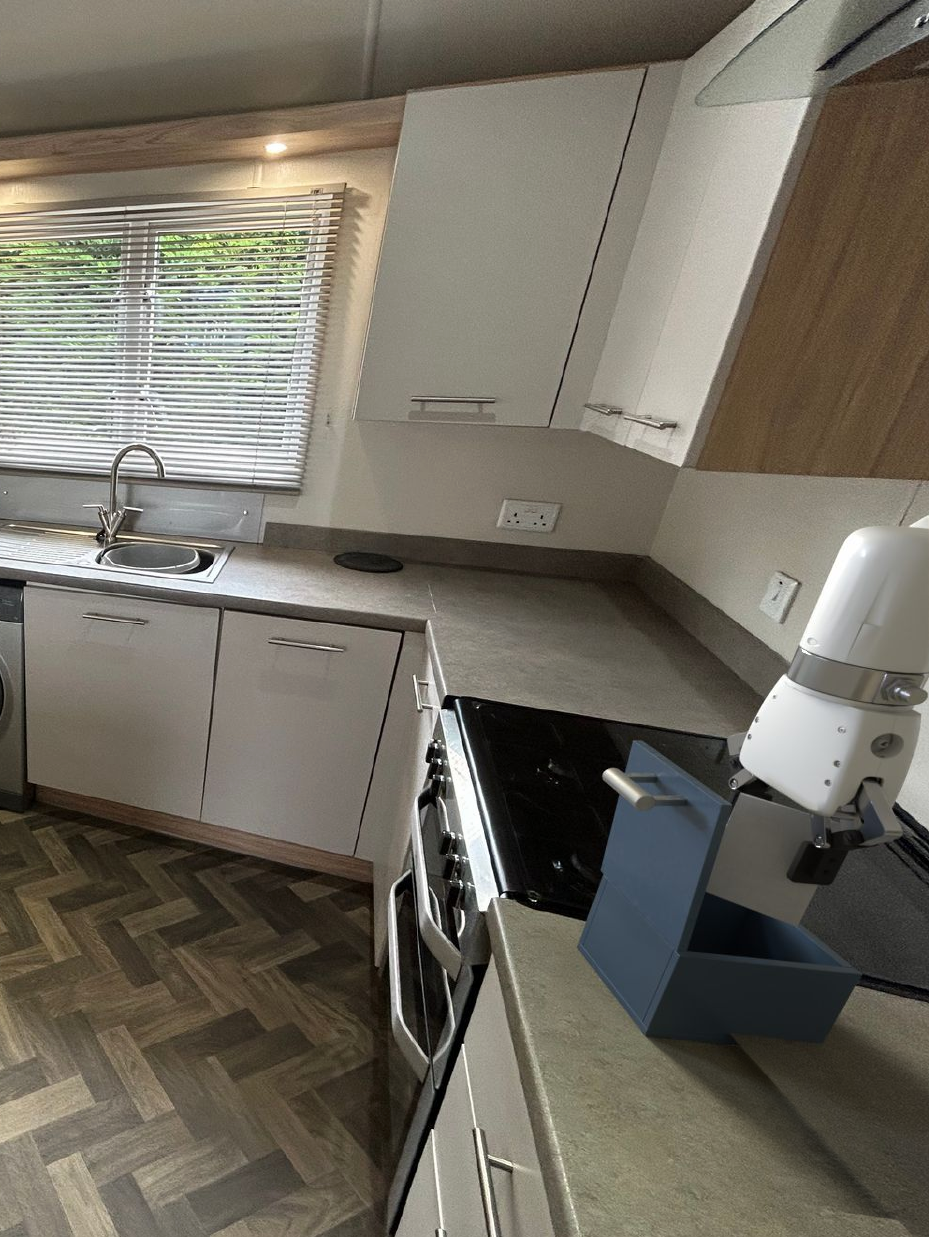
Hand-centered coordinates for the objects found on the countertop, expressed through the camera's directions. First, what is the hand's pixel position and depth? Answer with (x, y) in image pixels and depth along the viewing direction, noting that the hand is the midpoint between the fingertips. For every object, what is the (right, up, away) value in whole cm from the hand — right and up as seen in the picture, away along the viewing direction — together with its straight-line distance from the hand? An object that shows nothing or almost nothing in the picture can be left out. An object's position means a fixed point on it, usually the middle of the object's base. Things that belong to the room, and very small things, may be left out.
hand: (770, 852), depth 66 cm
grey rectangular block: (0, -5, +2) cm, 5 cm away
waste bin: (-2, -16, +7) cm, 18 cm away
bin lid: (-9, +1, +1) cm, 9 cm away
